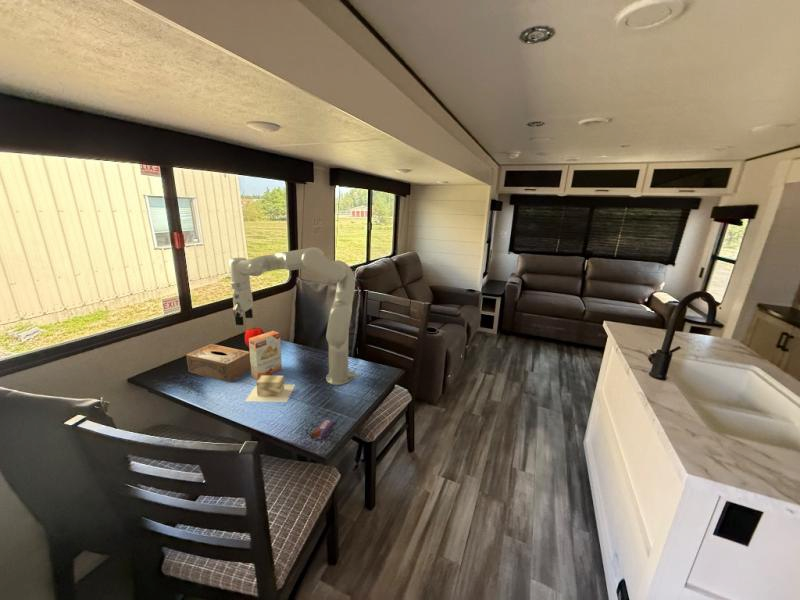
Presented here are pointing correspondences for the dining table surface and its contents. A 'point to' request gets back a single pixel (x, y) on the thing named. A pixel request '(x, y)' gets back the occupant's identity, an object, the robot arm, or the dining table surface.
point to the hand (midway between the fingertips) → (244, 321)
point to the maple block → (270, 385)
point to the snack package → (322, 428)
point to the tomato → (252, 334)
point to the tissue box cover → (219, 362)
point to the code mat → (282, 398)
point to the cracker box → (265, 354)
